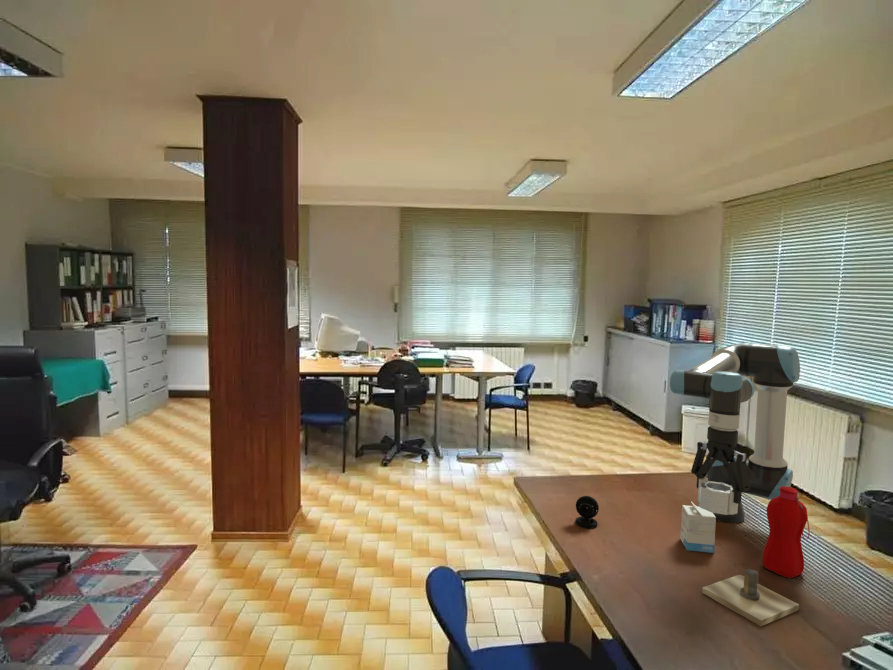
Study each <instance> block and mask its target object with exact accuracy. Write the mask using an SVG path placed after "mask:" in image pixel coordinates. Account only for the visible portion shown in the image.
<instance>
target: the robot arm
mask: <svg viewBox="0 0 893 670" xmlns="http://www.w3.org/2000/svg"><path fill="white" fill-rule="evenodd" d="M799 356H800V355H799V354H798V352H797V350H796V348H795V347H792V346H785V345H781V344H767V343H766V344H763V343H752V342H750V343H749V342H740V343H735V344H730V345H727V346H724V347H722V348H720V349H719V348H718V350H716V351H715V352H713V353H712V355H711V357H710V358H708V359H706V360H705V361H702V362H701V363H699V364H697V365H696V366H694V367H692V368H691V369H689V370H685V369H681V370H680V369H676V370H673V372H672V373H671V375H670V378H669V389H670V391H671V392H672V393H673V394H675V395H676V394H677V395H681V396H687V397H693V398H694V397H695V398H702V399H707V400H709V411H708V421H707V423H708V427H707V432H706V433H707V434H706V438H707V441H705V440H703V441H697V443H696V446H697V447H696V448H697V450H696V453H695V456H694V459H693V462H692V466H691V470H690V472H691V474H693V475H695V476H696V489H697V490H698V491H697V501H699V487H700V482H706V481H713V482H721V483H725V484H728V485H730V486H732V488H733V490H730V498H729V511H728V514H729V515H724V514H718V513H713V514H714V515H715V517H716V521H718V522H722V523H729V524H730V523H731V524H732V523H733V524H734V523H735V524H737V523H742V522H744V521H745V516H746V515H745V514H746V512H745V511H744V510H745V509H744V506H743V502H742V493H743V494H747V495H751V496H755V497H758V498H762V499H766V500H768V501H771V499H773V498H775V497H778V496H780V490H779V489H780V487H782V486H786V487H791V486H792V481H793V479H794V478H793V476H794V470H792V469H790V468H788V466H789V465H788V461H787V460H786V459H785V458H784V446H785V445H784V444H785V430H786V429H785V428H786V413H787V399H788V398H787V397H788V390H790V389H791V388H793V387H794V383H797V382H798V381H799V380H800V375H801V363H800V357H799ZM748 377H750V378H751V377H752V378H753V379H752V380H751V379H750V378H748ZM755 386H756V387H757V398H756V415H755V417H756V418H755V433H754V451H753V454H751V455H749V457H748V454H747V453H746V452H745V453H742V452H740V451H738V450H737V444H738V439H739V431H738V430H737V429H739V428H740V415H741V414H740V413H741V404H742V403H746V402H748V401H749V400H750V399H751V398H752V397H753V396H754V394H755V392H756V391H755V390H756V389H755ZM707 451H708V453H707ZM698 506H699V505H698ZM699 507H700V506H699Z"/></svg>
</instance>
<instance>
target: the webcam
mask: <svg viewBox="0 0 893 670" xmlns="http://www.w3.org/2000/svg"><path fill="white" fill-rule="evenodd" d="M575 510H576V512H577V513H578V514H579V516H578V517H576V519H575V525H577V526H578V527H580V528H583V529H587V530H588V529H595V528H596V527H598V521H597V520H596V519H594V517H596V516H598V513H599V510H600V507H599V503H598V501H597V500H596V499H595V498H594V497H592V496H589V495H582V496H580V497H578V499H577V500H576V502H575Z"/></svg>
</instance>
